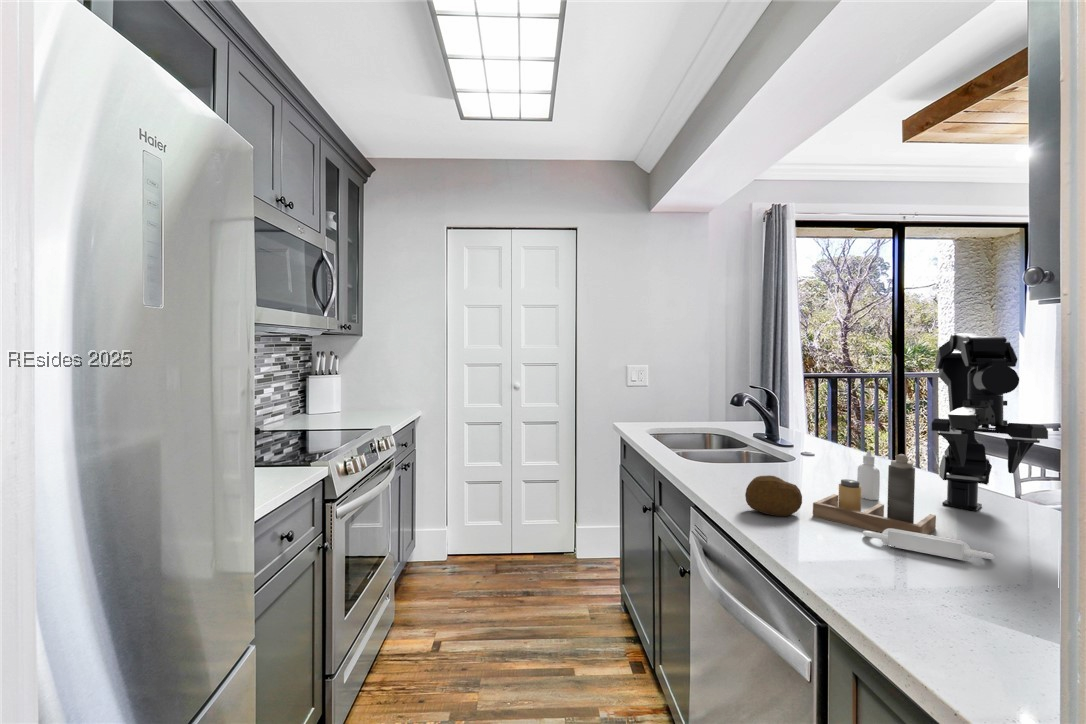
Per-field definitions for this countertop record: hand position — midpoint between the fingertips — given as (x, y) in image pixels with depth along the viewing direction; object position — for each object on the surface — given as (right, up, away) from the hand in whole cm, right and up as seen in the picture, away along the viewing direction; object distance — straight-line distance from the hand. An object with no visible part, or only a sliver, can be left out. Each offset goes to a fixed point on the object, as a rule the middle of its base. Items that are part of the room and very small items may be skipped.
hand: (985, 469), depth 109 cm
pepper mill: (-17, -13, +1) cm, 21 cm away
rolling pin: (-21, -14, -11) cm, 27 cm away
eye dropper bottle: (-10, -12, +23) cm, 28 cm away
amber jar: (-24, -12, +8) cm, 28 cm away
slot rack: (-21, -12, +5) cm, 25 cm away
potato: (-41, -12, +9) cm, 43 cm away
